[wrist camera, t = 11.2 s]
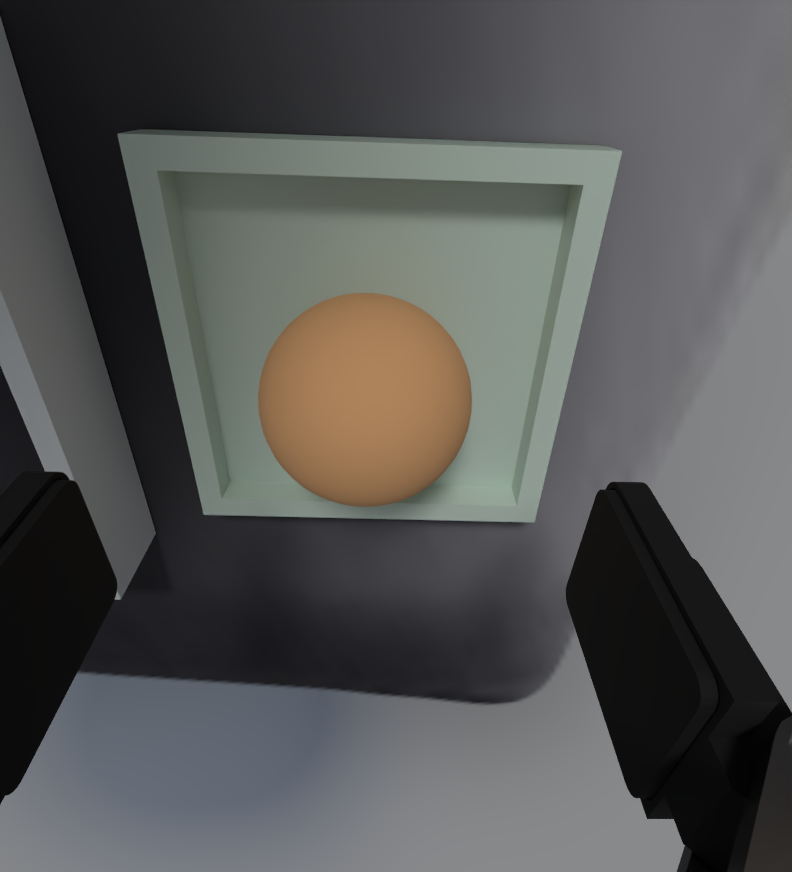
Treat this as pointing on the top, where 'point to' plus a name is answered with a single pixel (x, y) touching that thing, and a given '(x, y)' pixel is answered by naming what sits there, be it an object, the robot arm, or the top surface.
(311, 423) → the ball
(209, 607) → the top surface
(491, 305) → the tray
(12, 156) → the grey square frame
